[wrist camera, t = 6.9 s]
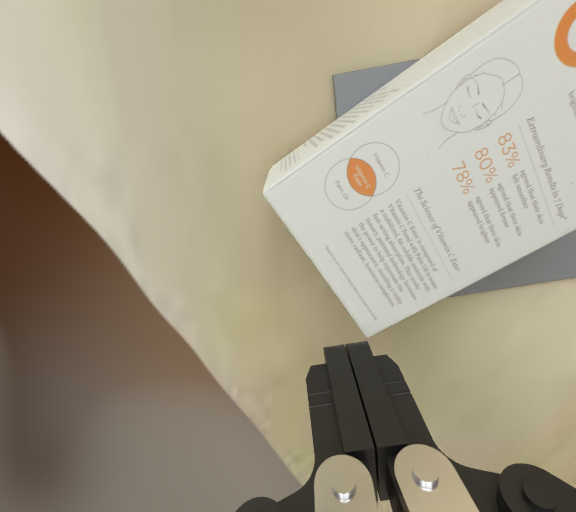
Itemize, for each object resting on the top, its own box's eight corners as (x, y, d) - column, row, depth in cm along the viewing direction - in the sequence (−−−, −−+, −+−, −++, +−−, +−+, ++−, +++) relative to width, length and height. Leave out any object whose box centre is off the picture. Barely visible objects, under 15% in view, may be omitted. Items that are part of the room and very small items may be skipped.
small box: (342, 276, 20) (556, 153, 17) (366, 343, 14) (698, 173, 11) (266, 165, 17) (505, -5, 14) (256, 191, 11) (660, -90, 8)
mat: (332, 75, 15) (333, 75, 15) (649, 16, 15) (658, 14, 15) (353, 308, 22) (354, 312, 21) (577, 273, 21) (583, 276, 21)
